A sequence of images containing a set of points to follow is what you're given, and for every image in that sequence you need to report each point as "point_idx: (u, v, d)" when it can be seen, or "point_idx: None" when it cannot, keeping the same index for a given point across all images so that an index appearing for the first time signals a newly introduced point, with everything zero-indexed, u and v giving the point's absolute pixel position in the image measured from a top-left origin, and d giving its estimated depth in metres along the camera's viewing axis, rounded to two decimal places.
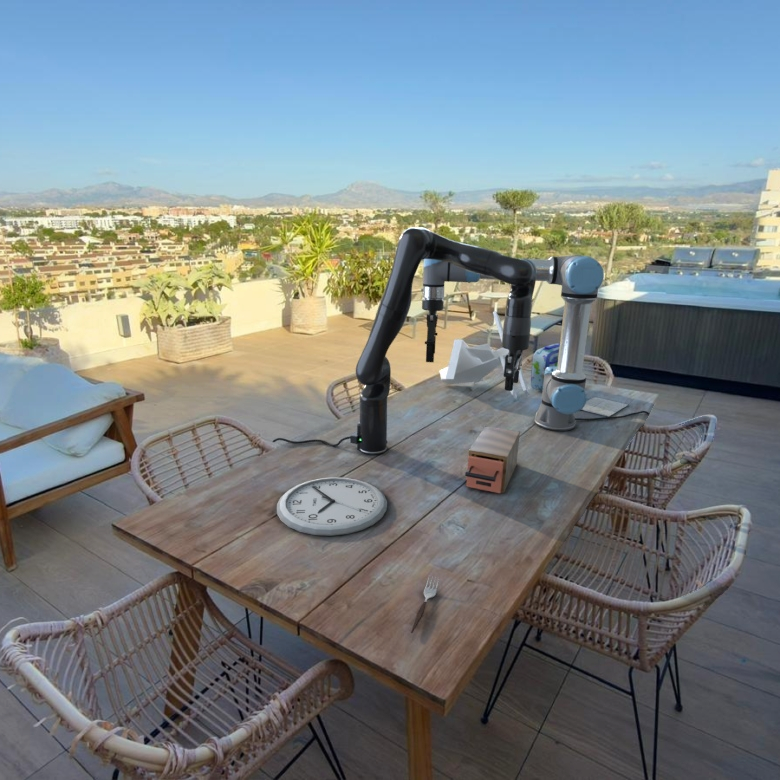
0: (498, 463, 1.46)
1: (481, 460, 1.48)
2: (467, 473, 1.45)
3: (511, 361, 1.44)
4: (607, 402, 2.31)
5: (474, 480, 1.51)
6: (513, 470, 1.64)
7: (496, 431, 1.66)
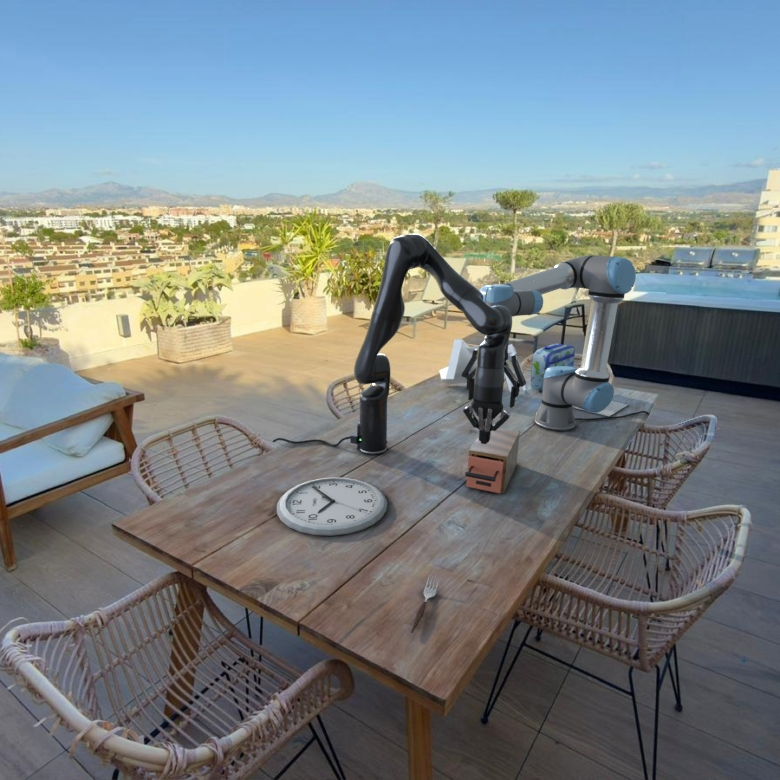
0: (498, 463, 1.46)
1: (481, 460, 1.48)
2: (467, 473, 1.45)
3: None
4: None
5: (474, 480, 1.51)
6: (513, 470, 1.64)
7: (496, 431, 1.66)
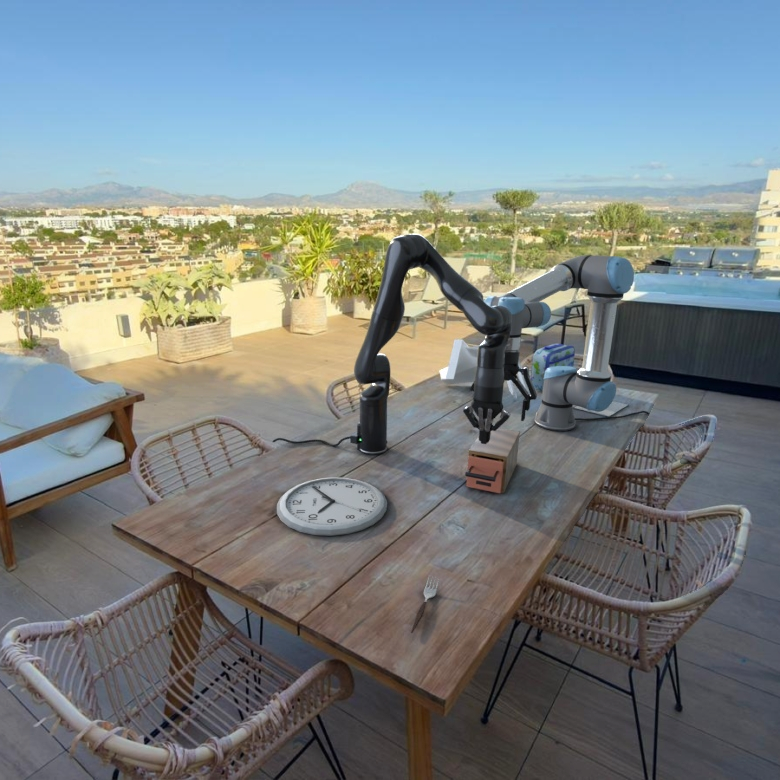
0: (498, 463, 1.46)
1: (481, 460, 1.48)
2: (467, 473, 1.45)
3: None
4: None
5: (474, 480, 1.51)
6: (513, 470, 1.64)
7: (496, 431, 1.66)
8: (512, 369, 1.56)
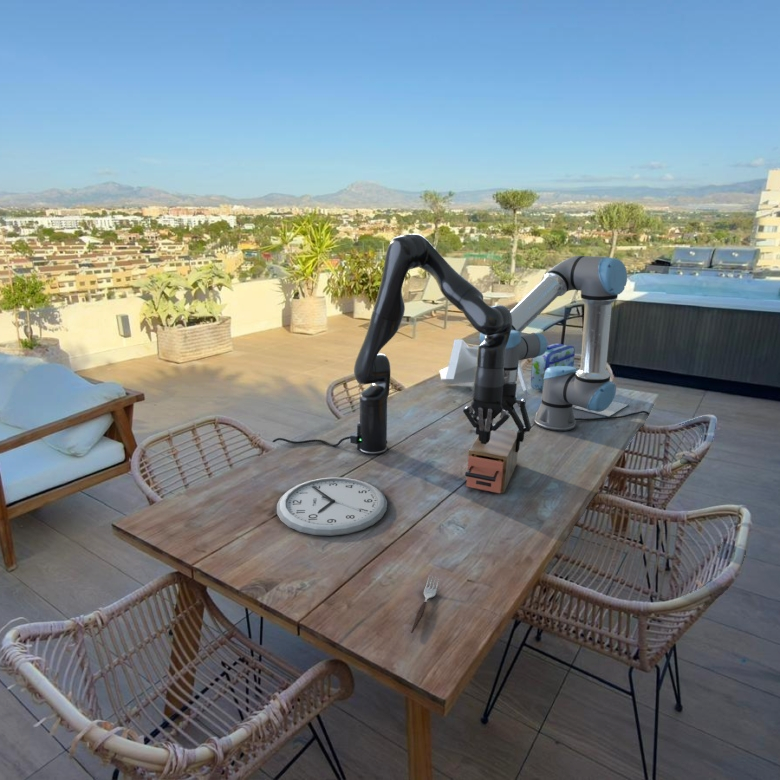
0: (498, 463, 1.46)
1: (481, 460, 1.48)
2: (467, 473, 1.45)
3: None
4: None
5: (474, 480, 1.51)
6: (513, 470, 1.64)
7: (496, 431, 1.66)
8: (509, 400, 1.59)
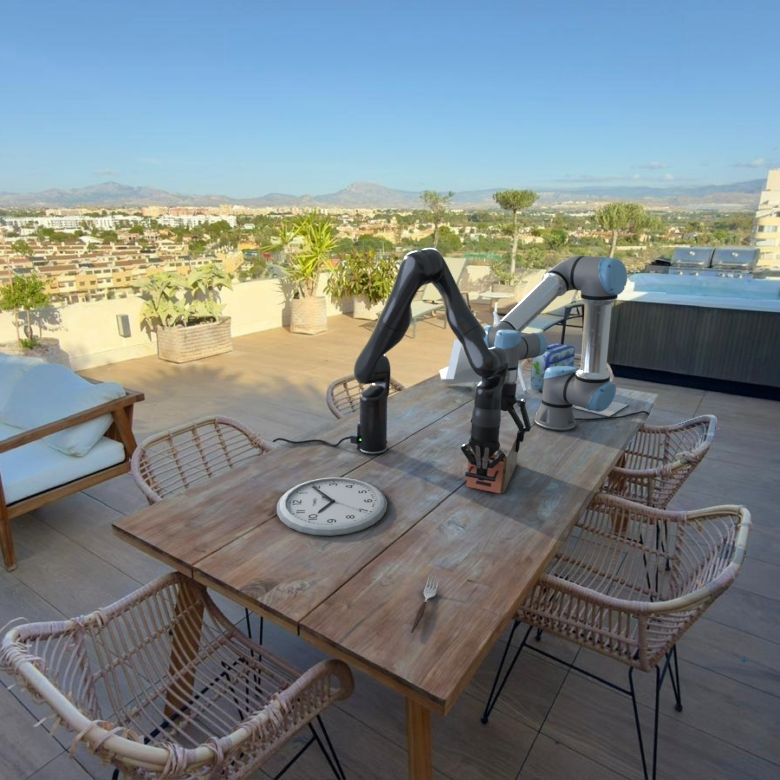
0: (498, 463, 1.46)
1: None
2: (467, 473, 1.45)
3: None
4: None
5: (474, 480, 1.51)
6: (513, 470, 1.64)
7: None
8: (509, 400, 1.59)
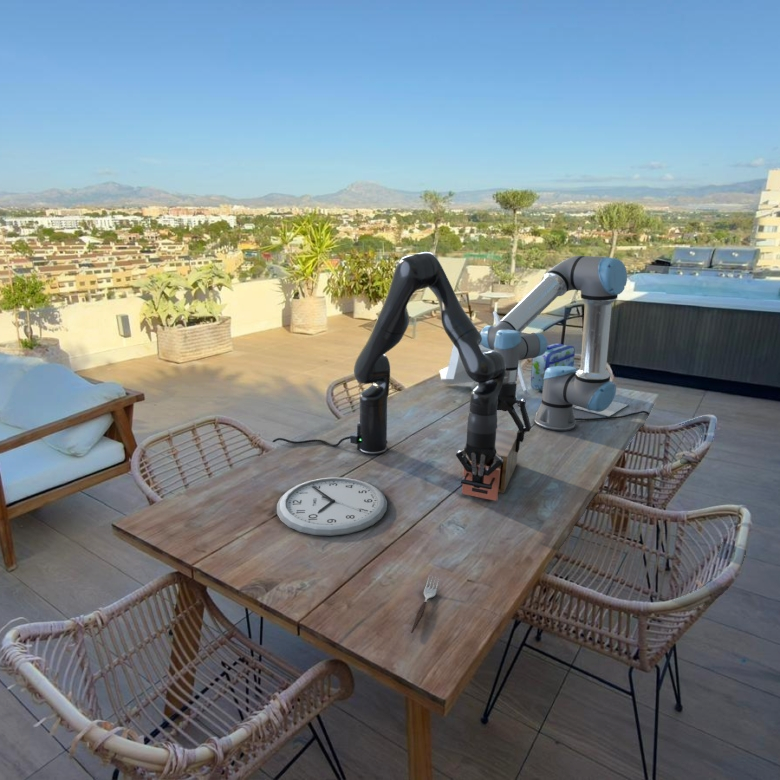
0: None
1: None
2: (463, 480, 1.41)
3: None
4: None
5: (470, 487, 1.47)
6: (513, 470, 1.64)
7: (496, 431, 1.66)
8: (509, 400, 1.59)
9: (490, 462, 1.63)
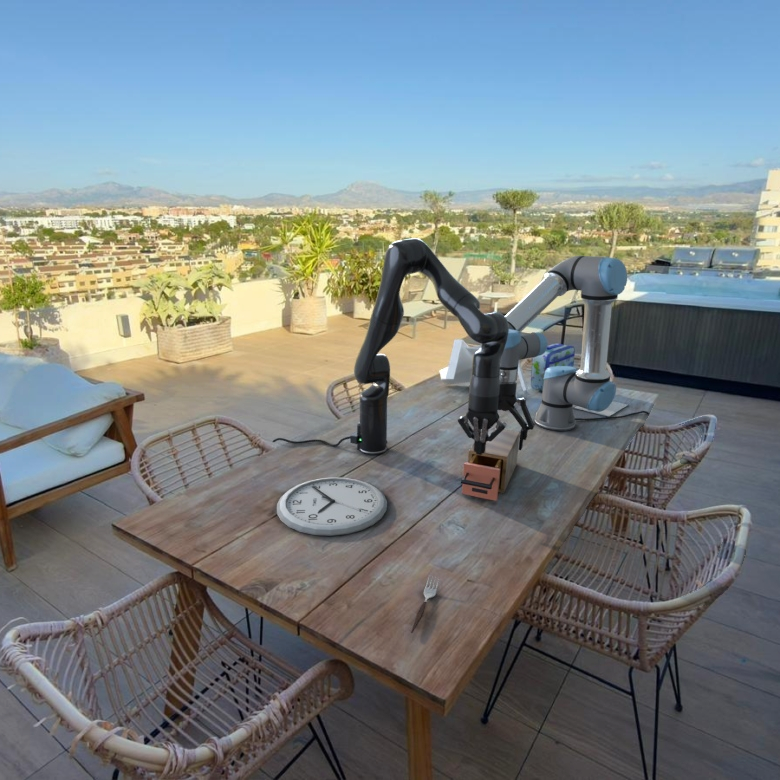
0: (494, 470, 1.42)
1: (477, 467, 1.44)
2: (462, 480, 1.41)
3: None
4: None
5: (470, 487, 1.47)
6: (513, 470, 1.64)
7: None
8: (509, 400, 1.59)
9: (490, 462, 1.63)
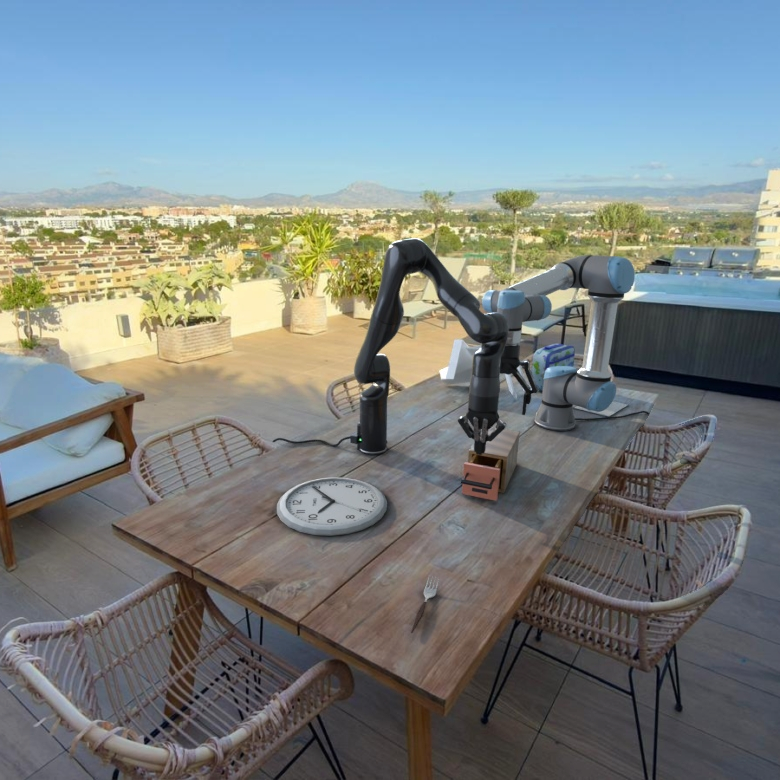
0: (494, 470, 1.42)
1: (477, 467, 1.44)
2: (462, 480, 1.41)
3: None
4: None
5: (470, 487, 1.47)
6: (513, 470, 1.64)
7: None
8: (513, 363, 1.56)
9: (490, 462, 1.63)
